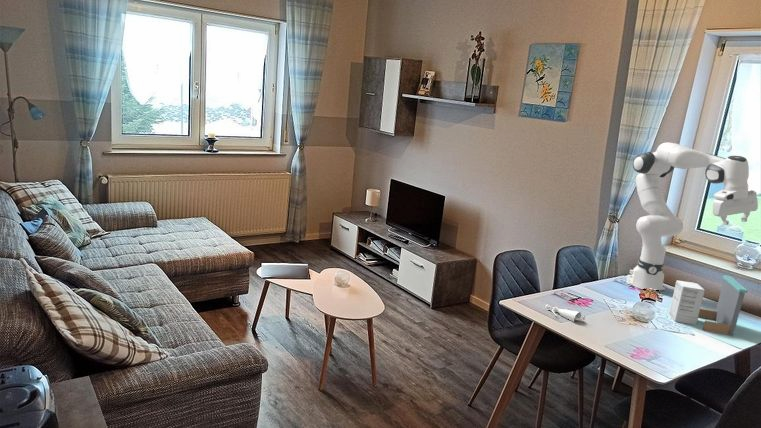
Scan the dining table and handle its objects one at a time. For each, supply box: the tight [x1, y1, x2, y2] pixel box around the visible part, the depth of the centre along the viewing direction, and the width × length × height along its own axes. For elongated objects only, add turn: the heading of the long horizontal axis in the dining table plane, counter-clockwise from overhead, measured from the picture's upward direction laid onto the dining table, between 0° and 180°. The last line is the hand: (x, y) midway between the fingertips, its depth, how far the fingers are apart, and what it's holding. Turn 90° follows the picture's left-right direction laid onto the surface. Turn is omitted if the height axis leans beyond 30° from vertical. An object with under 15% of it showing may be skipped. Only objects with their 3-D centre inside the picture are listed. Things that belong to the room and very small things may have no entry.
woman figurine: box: [544, 304, 586, 323], centre depth 234 cm, size 12×4×18 cm
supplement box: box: [668, 279, 706, 326], centre depth 243 cm, size 10×9×17 cm
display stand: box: [698, 274, 748, 336], centre depth 240 cm, size 19×12×21 cm, turn 166°
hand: (734, 223), depth 240 cm, fingers open, 8 cm apart
